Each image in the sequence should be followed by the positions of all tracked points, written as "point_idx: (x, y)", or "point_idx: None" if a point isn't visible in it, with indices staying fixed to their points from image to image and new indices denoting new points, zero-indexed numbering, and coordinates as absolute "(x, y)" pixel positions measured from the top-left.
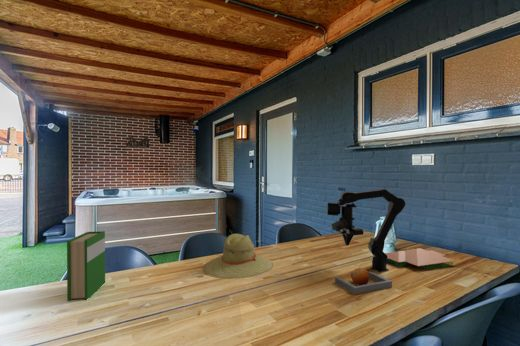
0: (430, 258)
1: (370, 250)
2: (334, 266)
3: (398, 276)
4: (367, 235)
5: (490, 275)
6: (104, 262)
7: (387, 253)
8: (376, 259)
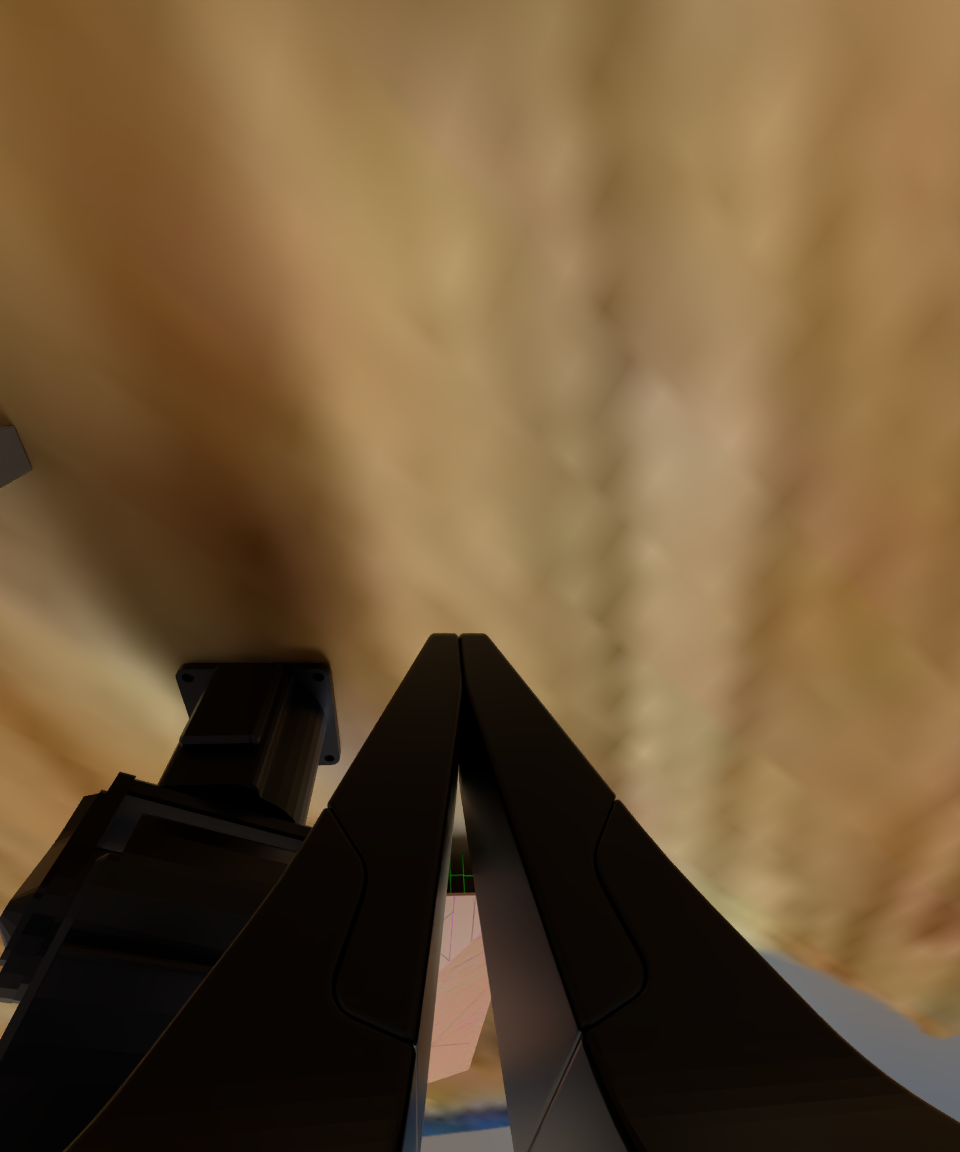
0: None
1: (168, 868)
2: (602, 283)
3: (24, 729)
4: (937, 1022)
5: None
6: None
7: (458, 945)
8: (172, 776)
